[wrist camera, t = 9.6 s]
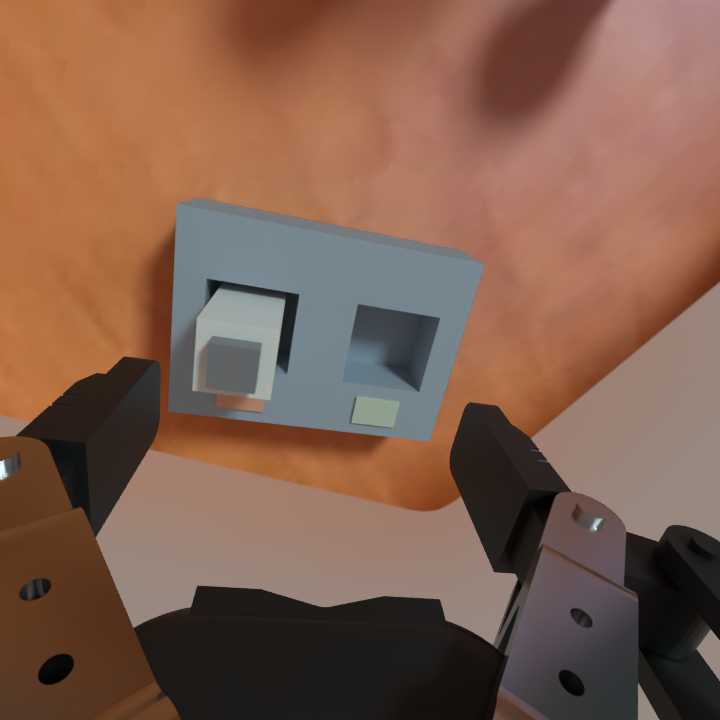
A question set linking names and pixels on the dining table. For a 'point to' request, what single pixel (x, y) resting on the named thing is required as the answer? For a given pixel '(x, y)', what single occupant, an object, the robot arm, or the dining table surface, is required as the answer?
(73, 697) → the robot arm
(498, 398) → the dining table surface
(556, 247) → the dining table surface
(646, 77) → the dining table surface
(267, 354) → the plug
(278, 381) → the socket board
